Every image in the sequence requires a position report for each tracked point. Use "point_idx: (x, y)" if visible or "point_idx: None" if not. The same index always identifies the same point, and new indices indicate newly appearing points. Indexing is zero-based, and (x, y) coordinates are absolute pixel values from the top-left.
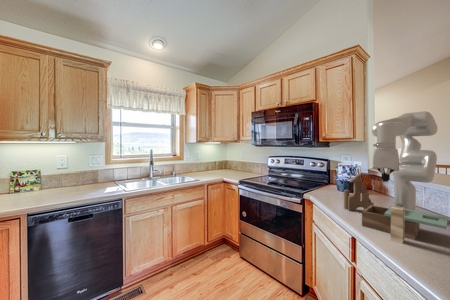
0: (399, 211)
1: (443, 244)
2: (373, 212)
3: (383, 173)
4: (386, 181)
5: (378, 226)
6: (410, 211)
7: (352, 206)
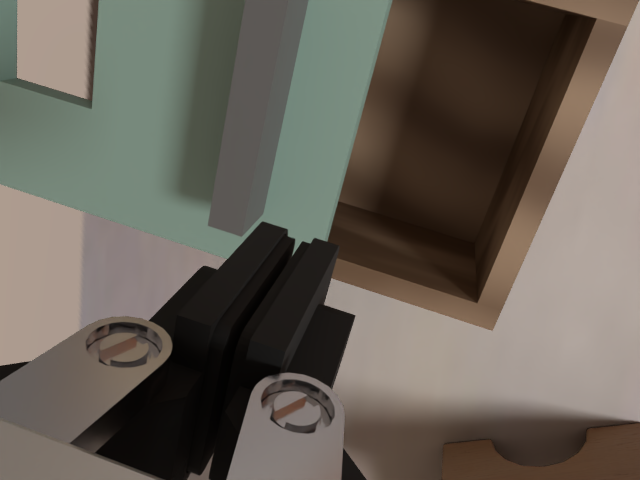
0: None
1: (97, 7)
2: (470, 270)
3: (268, 403)
4: (269, 225)
5: None
6: (176, 177)
7: (623, 458)
